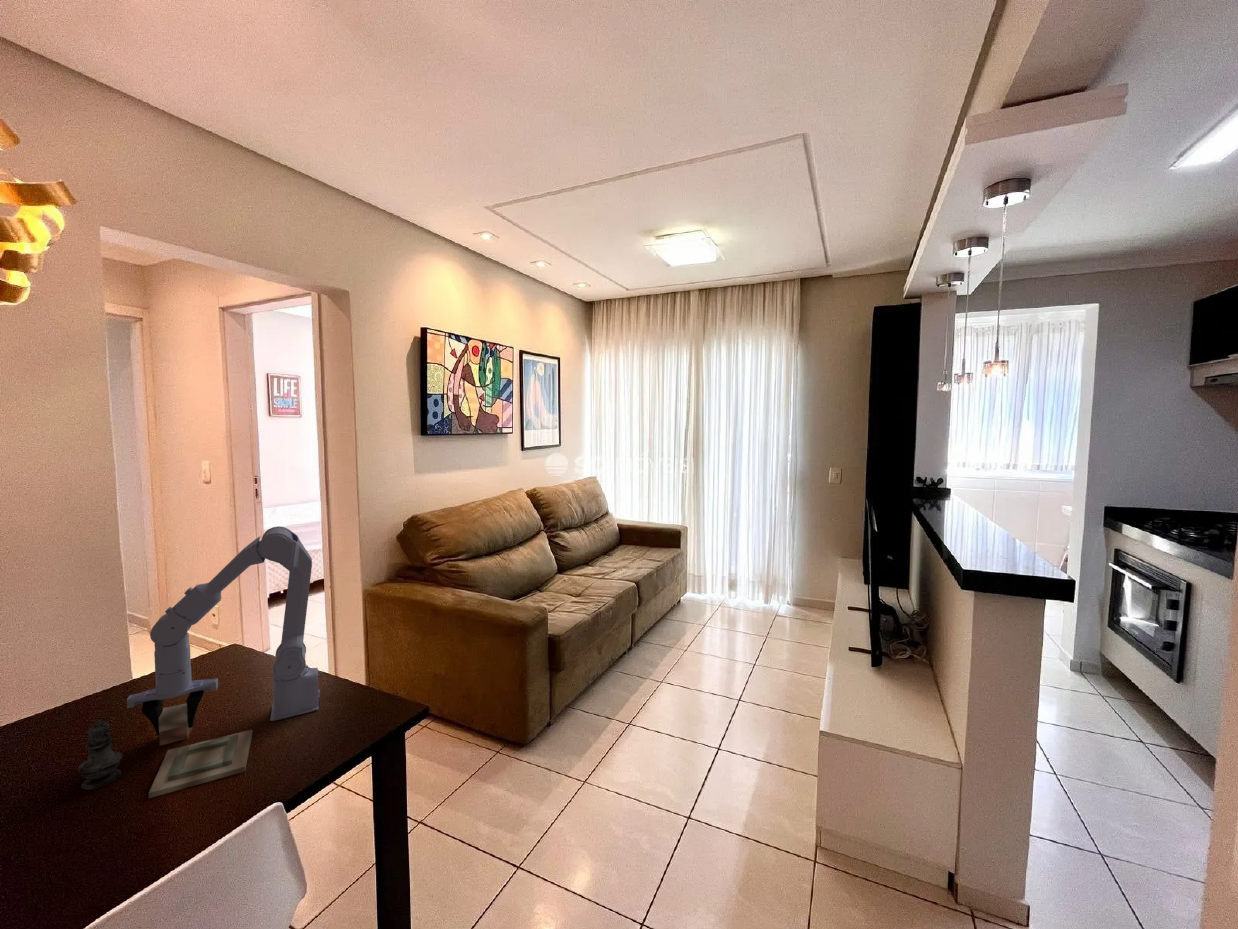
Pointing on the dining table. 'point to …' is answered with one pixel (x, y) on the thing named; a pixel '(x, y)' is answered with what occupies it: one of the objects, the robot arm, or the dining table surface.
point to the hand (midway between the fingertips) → (176, 729)
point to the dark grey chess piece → (99, 758)
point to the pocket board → (202, 763)
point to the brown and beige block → (174, 724)
